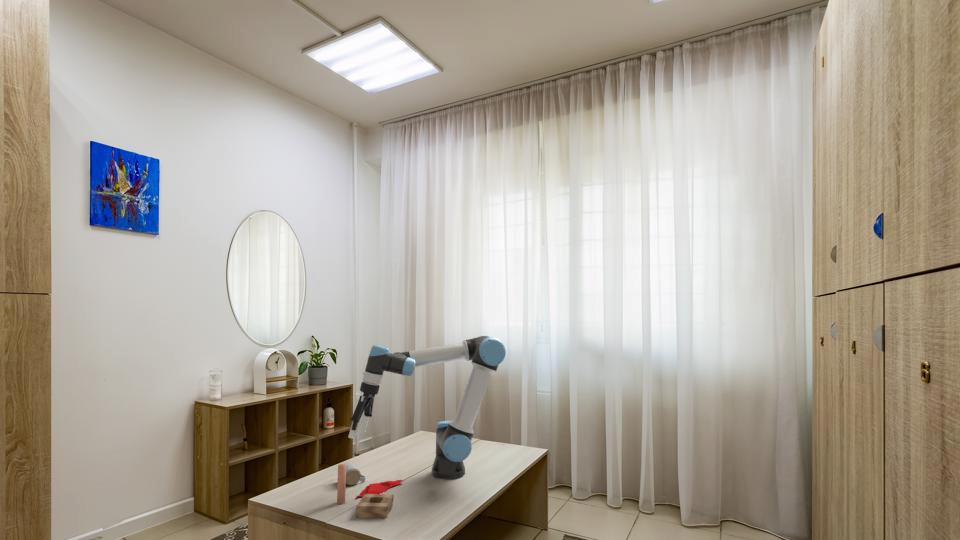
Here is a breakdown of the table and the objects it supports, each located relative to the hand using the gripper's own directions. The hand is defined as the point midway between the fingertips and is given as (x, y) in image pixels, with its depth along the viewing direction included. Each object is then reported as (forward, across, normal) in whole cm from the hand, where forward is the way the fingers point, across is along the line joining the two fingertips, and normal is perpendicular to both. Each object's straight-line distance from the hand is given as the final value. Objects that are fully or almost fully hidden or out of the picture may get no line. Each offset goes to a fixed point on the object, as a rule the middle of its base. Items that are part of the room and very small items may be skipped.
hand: (357, 435), depth 194 cm
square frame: (+21, +14, +18) cm, 31 cm away
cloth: (+21, -8, +13) cm, 26 cm away
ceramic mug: (+23, -13, 0) cm, 26 cm away
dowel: (+24, +8, +3) cm, 25 cm away
